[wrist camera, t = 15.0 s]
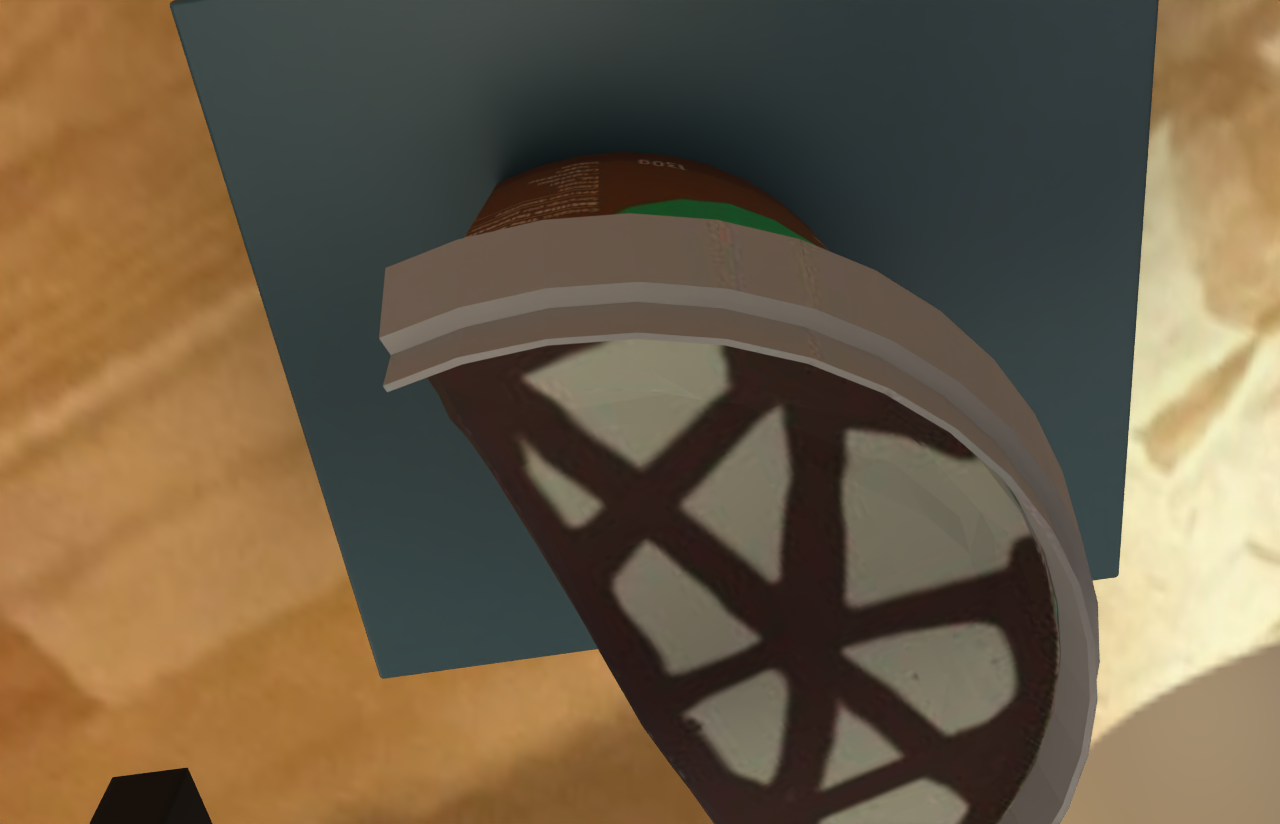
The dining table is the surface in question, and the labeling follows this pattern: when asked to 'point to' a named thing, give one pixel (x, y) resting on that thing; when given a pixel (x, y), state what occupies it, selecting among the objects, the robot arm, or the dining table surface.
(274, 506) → the dining table surface
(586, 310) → the food container
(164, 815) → the robot arm
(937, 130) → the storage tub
